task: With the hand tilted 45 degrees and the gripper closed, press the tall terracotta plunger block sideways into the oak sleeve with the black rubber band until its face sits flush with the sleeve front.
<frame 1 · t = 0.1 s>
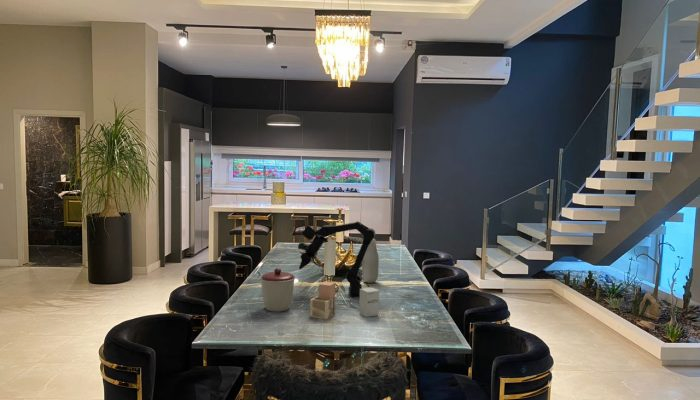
hand: (301, 267, 285), 15 cm above the table, tool tilted 35°, fingers open, 9 cm apart
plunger: (327, 297, 249), point 8 cm above the table, slide at 4.5 cm
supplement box: (369, 314, 248), on the table
sleeve: (321, 315, 245), on the table
canister: (277, 309, 255), on the table
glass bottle: (369, 282, 311), on the table
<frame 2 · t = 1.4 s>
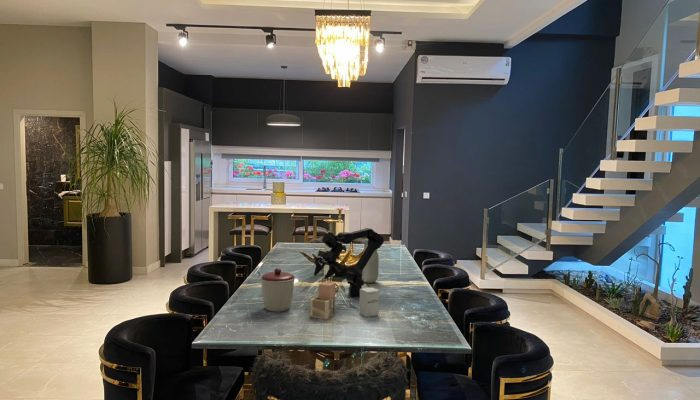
hand: (319, 277, 264), 14 cm above the table, tool tilted 40°, fingers open, 9 cm apart
nothing on the table moved.
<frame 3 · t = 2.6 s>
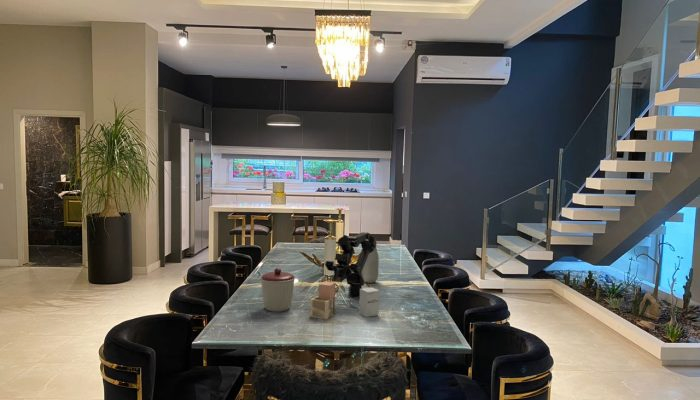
hand: (337, 280, 260), 14 cm above the table, tool tilted 45°, fingers open, 3 cm apart
nothing on the table moved.
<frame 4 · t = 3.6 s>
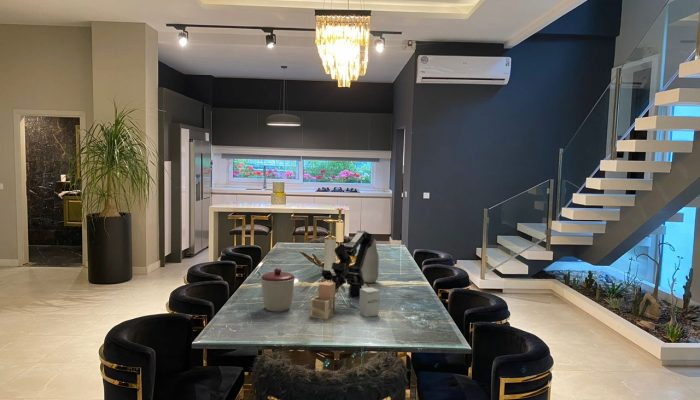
hand: (334, 290, 256), 10 cm above the table, tool tilted 45°, fingers closed
nothing on the table moved.
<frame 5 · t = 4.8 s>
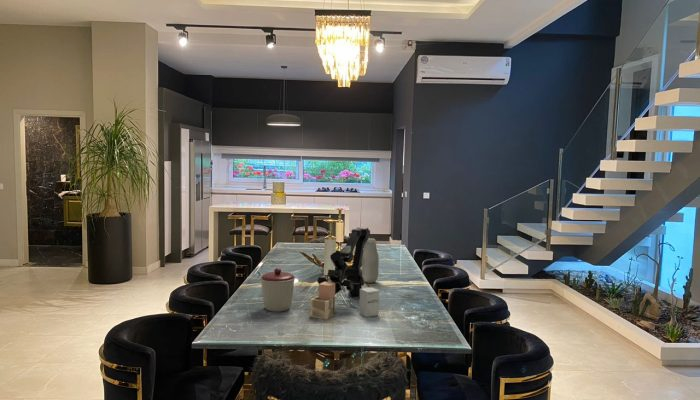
hand: (329, 297, 252), 7 cm above the table, tool tilted 45°, fingers closed, pressing on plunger
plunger: (327, 297, 249), point 8 cm above the table, slide at 4.4 cm, touching gripper
everything else where it was.
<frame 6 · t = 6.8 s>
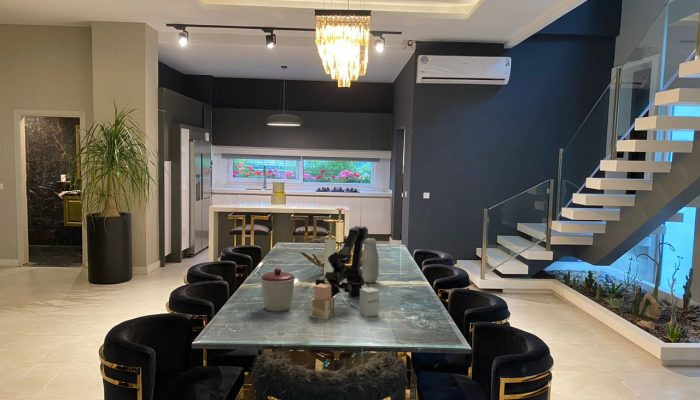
hand: (328, 300, 250), 6 cm above the table, tool tilted 45°, fingers closed
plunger: (322, 299, 245), point 8 cm above the table, slide at 0.0 cm
everything else where it was.
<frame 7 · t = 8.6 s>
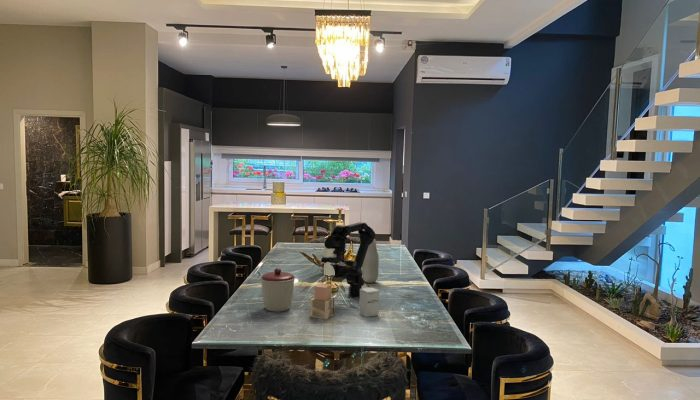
hand: (337, 277, 268), 13 cm above the table, tool pointing down, fingers closed
nothing on the table moved.
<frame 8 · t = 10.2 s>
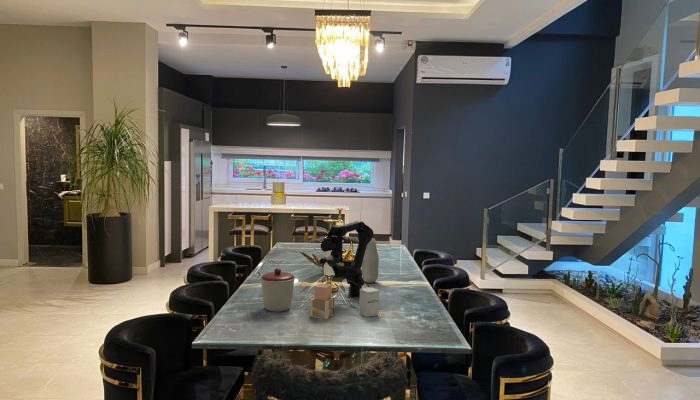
hand: (336, 277, 269), 13 cm above the table, tool pointing down, fingers closed
nothing on the table moved.
at the end: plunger slide at 0.0 cm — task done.
